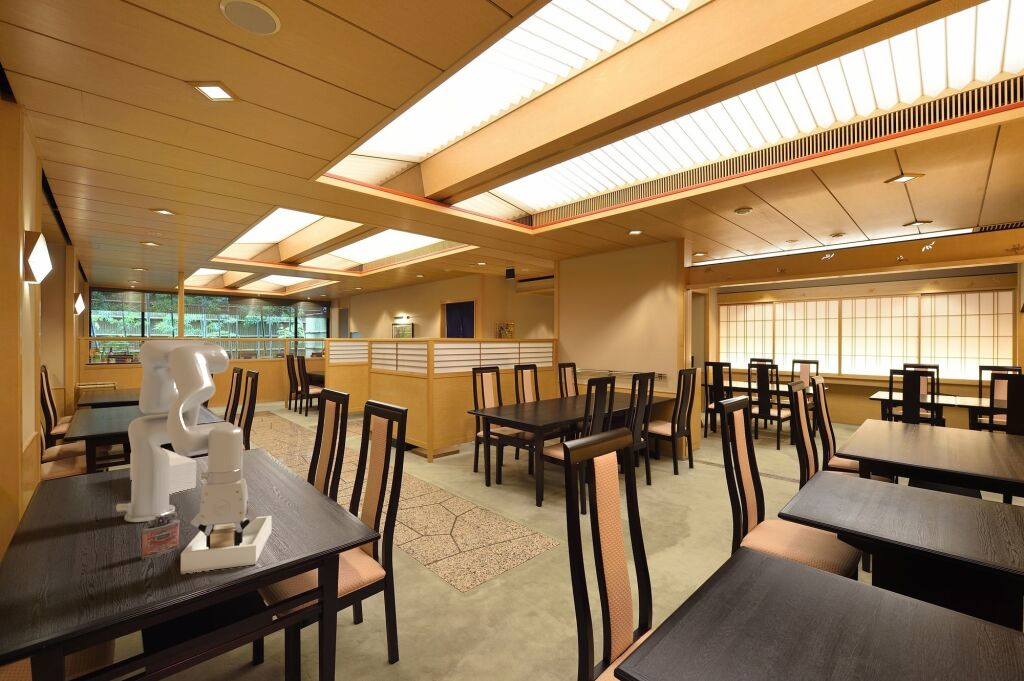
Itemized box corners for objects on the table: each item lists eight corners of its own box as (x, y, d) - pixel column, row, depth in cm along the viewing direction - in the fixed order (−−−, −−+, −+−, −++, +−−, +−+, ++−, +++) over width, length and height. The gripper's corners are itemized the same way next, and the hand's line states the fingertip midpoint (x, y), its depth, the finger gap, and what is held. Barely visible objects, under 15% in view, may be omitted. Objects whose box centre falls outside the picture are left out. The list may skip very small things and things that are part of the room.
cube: (210, 554, 113) (210, 534, 113) (216, 546, 118) (216, 526, 118) (233, 552, 115) (233, 532, 115) (238, 543, 119) (238, 524, 119)
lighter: (143, 560, 116) (144, 521, 116) (139, 556, 118) (140, 518, 118) (181, 549, 122) (181, 512, 122) (176, 546, 124) (177, 509, 124)
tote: (180, 574, 110) (180, 553, 110) (208, 539, 129) (208, 521, 129) (255, 565, 114) (255, 545, 114) (271, 532, 133) (271, 515, 133)
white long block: (130, 480, 181) (130, 453, 181) (162, 474, 189) (162, 448, 189) (161, 497, 162) (162, 466, 162) (195, 489, 171) (196, 460, 171)
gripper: (180, 483, 110) (179, 559, 110) (259, 477, 115) (258, 550, 115) (191, 474, 117) (191, 545, 117) (266, 469, 122) (265, 537, 122)
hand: (224, 547), depth 116 cm, fingers closed on cube, 5 cm apart
